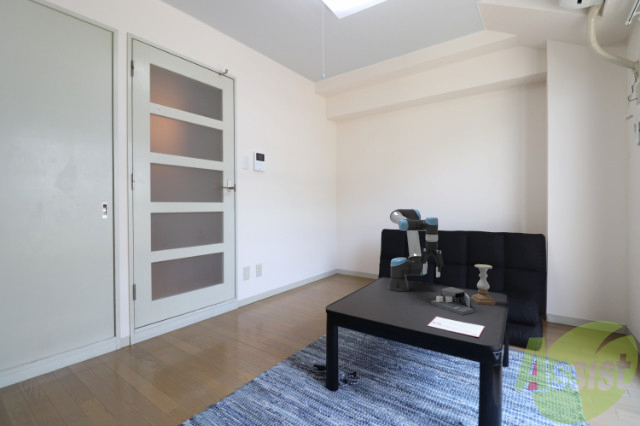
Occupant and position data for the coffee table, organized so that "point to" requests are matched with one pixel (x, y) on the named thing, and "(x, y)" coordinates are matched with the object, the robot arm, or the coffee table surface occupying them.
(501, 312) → the coffee table surface
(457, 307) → the console
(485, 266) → the candle holder
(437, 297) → the fader
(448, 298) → the fader
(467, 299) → the door
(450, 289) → the cabinet
